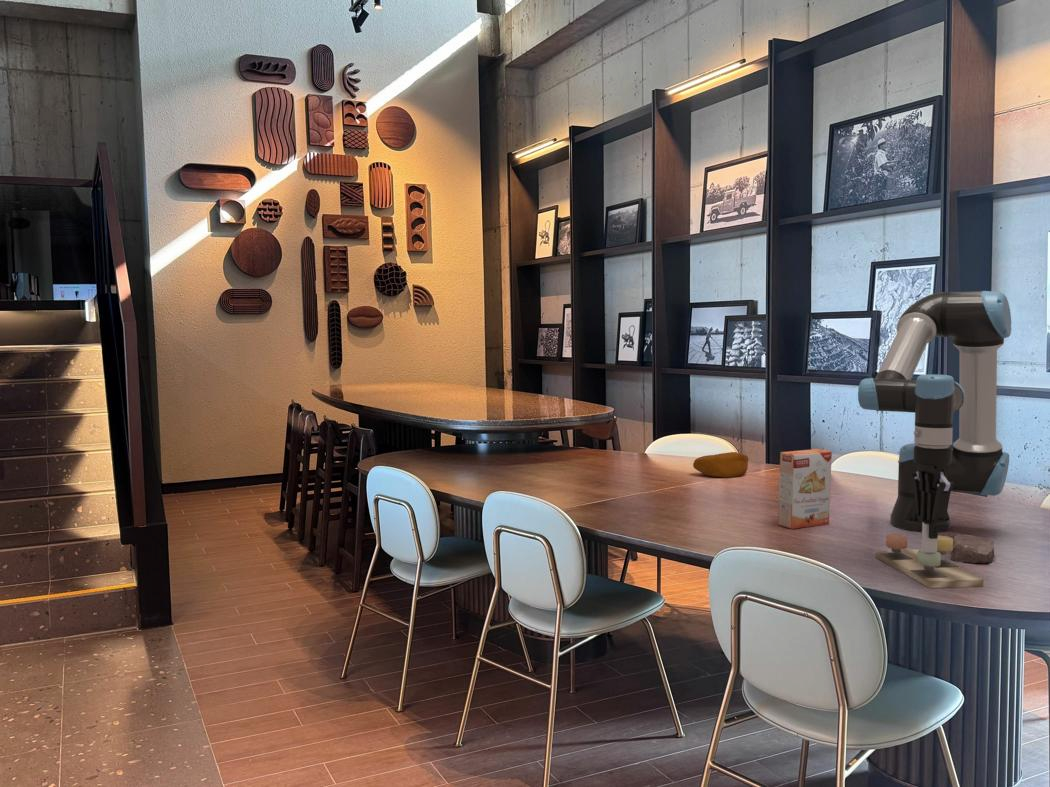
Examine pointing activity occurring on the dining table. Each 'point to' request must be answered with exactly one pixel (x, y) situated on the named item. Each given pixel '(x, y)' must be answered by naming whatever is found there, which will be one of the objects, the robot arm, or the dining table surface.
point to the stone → (972, 549)
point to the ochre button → (944, 544)
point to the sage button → (929, 559)
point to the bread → (722, 464)
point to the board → (936, 578)
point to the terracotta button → (896, 542)
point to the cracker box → (804, 488)
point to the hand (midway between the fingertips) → (929, 551)
